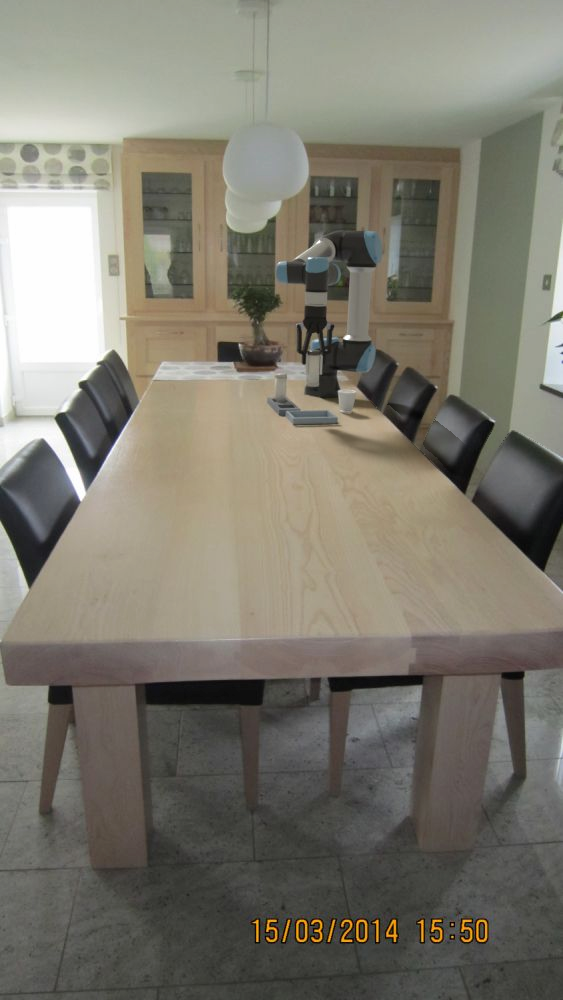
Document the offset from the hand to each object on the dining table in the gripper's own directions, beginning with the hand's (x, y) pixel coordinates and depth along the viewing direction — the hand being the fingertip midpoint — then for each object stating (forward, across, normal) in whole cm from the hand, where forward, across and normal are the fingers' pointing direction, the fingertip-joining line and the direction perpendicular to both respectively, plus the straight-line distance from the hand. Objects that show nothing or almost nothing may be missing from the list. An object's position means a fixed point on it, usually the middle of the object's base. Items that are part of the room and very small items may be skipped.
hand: (312, 373), depth 261 cm
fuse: (+16, +6, -25) cm, 30 cm away
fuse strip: (+17, +6, -19) cm, 26 cm away
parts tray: (+17, 0, 0) cm, 17 cm away
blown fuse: (+4, 0, 0) cm, 4 cm away
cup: (+17, -17, -14) cm, 28 cm away
